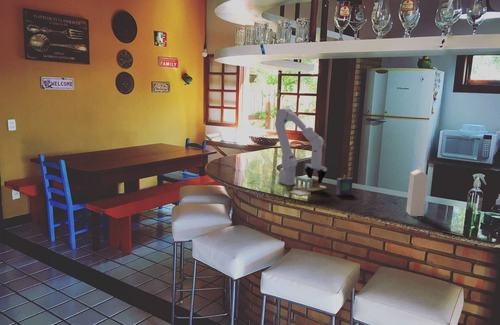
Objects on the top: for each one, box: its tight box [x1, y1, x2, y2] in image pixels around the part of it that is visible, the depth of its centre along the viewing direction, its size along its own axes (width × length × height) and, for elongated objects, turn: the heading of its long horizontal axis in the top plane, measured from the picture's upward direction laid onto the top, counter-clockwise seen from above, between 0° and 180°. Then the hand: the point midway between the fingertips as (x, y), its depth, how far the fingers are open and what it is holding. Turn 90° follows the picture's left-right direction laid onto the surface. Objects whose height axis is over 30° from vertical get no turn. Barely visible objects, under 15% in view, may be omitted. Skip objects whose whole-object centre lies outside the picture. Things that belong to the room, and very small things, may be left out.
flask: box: [335, 174, 354, 197], centre depth 211 cm, size 9×3×11 cm, turn 109°
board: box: [292, 183, 327, 193], centre depth 222 cm, size 10×16×1 cm, turn 129°
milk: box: [405, 166, 429, 217], centre depth 178 cm, size 6×6×22 cm
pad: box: [289, 189, 312, 197], centre depth 210 cm, size 8×8×1 cm
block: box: [312, 178, 321, 188], centre depth 224 cm, size 4×4×5 cm
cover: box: [294, 175, 314, 189], centre depth 219 cm, size 8×5×6 cm, turn 39°
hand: (314, 181), depth 224 cm, fingers open, 7 cm apart
